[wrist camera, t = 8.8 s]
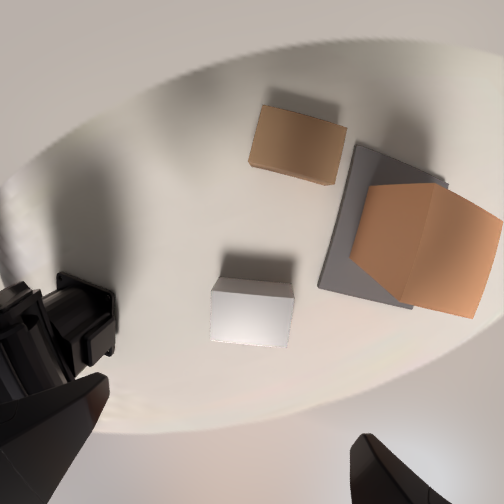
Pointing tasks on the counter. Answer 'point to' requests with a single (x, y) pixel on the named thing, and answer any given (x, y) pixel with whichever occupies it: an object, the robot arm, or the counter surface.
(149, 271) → the counter surface
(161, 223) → the counter surface
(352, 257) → the terracotta block
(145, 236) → the counter surface
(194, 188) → the counter surface
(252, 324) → the grey plastic block
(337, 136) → the walnut block
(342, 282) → the charcoal mat
